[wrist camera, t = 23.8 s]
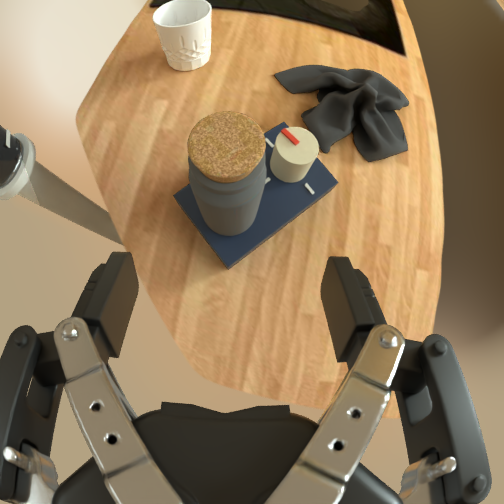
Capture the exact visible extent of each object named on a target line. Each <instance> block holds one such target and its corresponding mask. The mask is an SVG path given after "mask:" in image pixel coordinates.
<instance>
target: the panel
mask: <svg viewBox="0 0 504 504" xmlns="http://www.w3.org/2000/svg"><path fill="white" fill-rule="evenodd" d="M284 128H289V127H288V126H287V125H286V123H285V122H283V123H281V124H279V125H278V126H276V127H274V128H273V129H271V130H269V131H268V132H266V133H264V136H265V143H266V147H265V165H266V182H265V186H264V190H263V193H262V197H261V200H260V204H259V207H258V211H257V214H256V217H255V220H254V222H253V223H252V225H251V226H250V227H249V228H248V229H247V230H246V231H244V232H243V233H241V234H238V235H235V236H224V235H220V234H218V233H216V232H214V231H212V230H211V229H210V228H209V227H208V226H207V224H206V222H205V221H204V219H203V216H202V214H201V212H200V209H199V207H198V204H197V202H196V199H195V196H194V194H193V191H192V188H191V185H190V184H188V185H187V186H185V187H184V188H183V189H181V190H180V191H179V192H177V193H176V194H175V195H173V196H174V198H175V199H176V201H177V203H178V204H179V206H180V207H181V208H182V210H183V211H184V212H185V214H186V215H187V216H188V218H189V219H190V220H191V222H192V223H193V224H194V226H195V227H196V228H197V230H198V231H199V232H200V234H201V235H202V236H203V237H204V239H205V240H206V241H207V243H208V244H209V245H210V247H211V248H212V249H213V251H214V252H215V253H216V255H217V256H218V257H219V258H220V260H221V261H222V262H223V264H224V265H225V266H226V267H227V269H228V270H229V269H230V268H231V267H233V266H234V265H235V264H237V263H238V262H239V261H240V260H242V259H243V258H244V257H246V256H247V255H248V254H250V253H251V252H252V251H253V250H255V249H256V248H257V247H259V246H260V245H261V244H262V243H264V242H265V241H266V240H268V239H269V238H270V237H272V236H273V235H274V234H275V233H277V232H278V231H279V230H281V229H282V228H283V227H285V226H286V225H287V224H288V223H290V222H291V221H292V220H294V219H295V218H296V217H297V216H299V215H300V214H301V213H303V212H304V211H305V210H307V209H308V208H309V207H310V206H312V205H313V204H314V203H316V202H317V201H318V200H320V199H321V198H322V197H323V196H325V195H326V194H327V193H329V192H330V191H331V190H332V189H333V188H334V187H335V186H336V185H337V183H338V181H337V180H336V179H335V178H334V177H333V176H332V174H331V173H330V172H329V171H328V170H327V168H326V167H325V166H324V165H323V164H322V163H321V162H320V160H319V159H318V158H317V157H316V159H315V160H314V162H313V164H312V165H311V167H310V169H309V170H308V172H307V174H306V175H305V177H304V178H303V179H301V180H300V181H298V182H293V183H289V182H284V181H282V180H280V179H278V178H277V177H276V176H275V175H274V174H273V172H272V170H271V168H270V160H271V156H272V153H273V149H274V145H275V142H276V138H277V136H278V134H279V133H280V132H281V130H283V129H284Z"/></svg>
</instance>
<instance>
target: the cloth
mask: <svg viewBox="0 0 504 504" xmlns="http://www.w3.org/2000/svg"><path fill="white" fill-rule="evenodd" d="M275 77H276V78H277V79H278V81H279V82H280V83H281V84H282V85H283V86H284V87H285V88H286V89H287V90H288V91H290V92H291V93H294V94H295V93H305V92H312V91H315V90H317V89H319V92H318V95H317V98H318V101H319V104H318V105H317V106H316V107H313V108H312V109H309V110H307V111H305V112H304V113H302V115H301V117H302V118H303V121H304V122H305V124H306V125H307V127H308V128H309V130H310V132H311V133H312V134H313V135H314V136H315V138H316V139H317V142H318V145H319V147H320V148H321V150H322V151H323V152H324V153H328V152H329V151H330V146H331V145H333V144H334V143H335V142H337V141H339V140H340V139H342V138H344V137H346V136H347V135H349V134H350V133H351V131H352V132H353V134H354V143H355V145H356V147H357V149H358V151H359V152H360V153H361V154H362V155H363V157H364V158H365V159H366V160H367V161H368V162H371V161H376V160H381V159H384V158H387V157H389V156H393V155H396V154H398V153H401V152H403V151H408V145H407V141H406V137H405V133H404V130H403V127H402V124H401V121H400V119H399V117H398V116H397V114H396V113H395V111H394V110H399V109H401V108H402V107H406V106H408V104H409V101H408V100H407V98H406V97H405V95H404V94H403V93H402V92H401V91H400V90H399V89H398V88H397V87H396V86H395V85H393V84H392V83H391V82H390V81H389V80H387V79H386V78H384V77H383V76H382V75H380V74H378V73H376V72H374V71H370V70H365V69H351V70H348V71H347V70H344V69H338V68H333V67H327V66H322V65H306V66H300V67H296V68H292V69H289V70H286V71H282V72H279V73H276V74H275Z"/></svg>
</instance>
